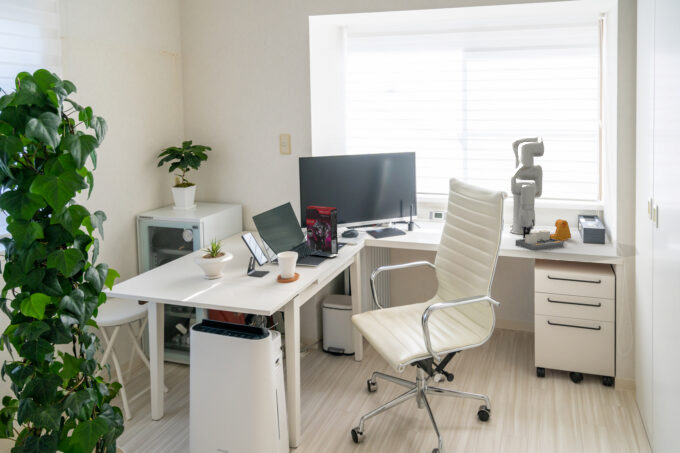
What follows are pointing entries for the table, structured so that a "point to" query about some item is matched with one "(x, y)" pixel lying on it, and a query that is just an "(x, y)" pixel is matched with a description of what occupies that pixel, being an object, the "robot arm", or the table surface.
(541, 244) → the dark grey tray
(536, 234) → the switch tab
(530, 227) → the robot arm
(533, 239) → the switch tab
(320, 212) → the graphics card box
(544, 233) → the switch tab
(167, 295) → the table surface
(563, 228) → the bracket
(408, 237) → the table surface
